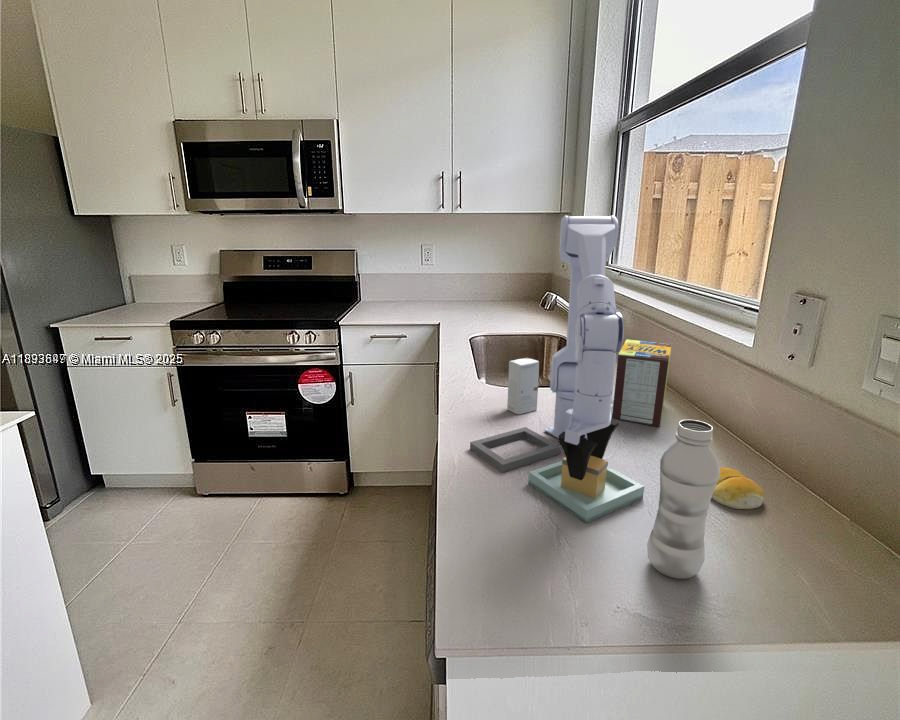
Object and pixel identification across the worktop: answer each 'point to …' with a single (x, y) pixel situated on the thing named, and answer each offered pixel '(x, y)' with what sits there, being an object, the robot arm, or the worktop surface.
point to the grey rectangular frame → (520, 460)
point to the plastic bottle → (684, 501)
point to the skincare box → (523, 385)
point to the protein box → (641, 382)
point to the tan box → (587, 477)
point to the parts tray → (580, 505)
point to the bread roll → (737, 490)
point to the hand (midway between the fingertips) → (586, 468)
